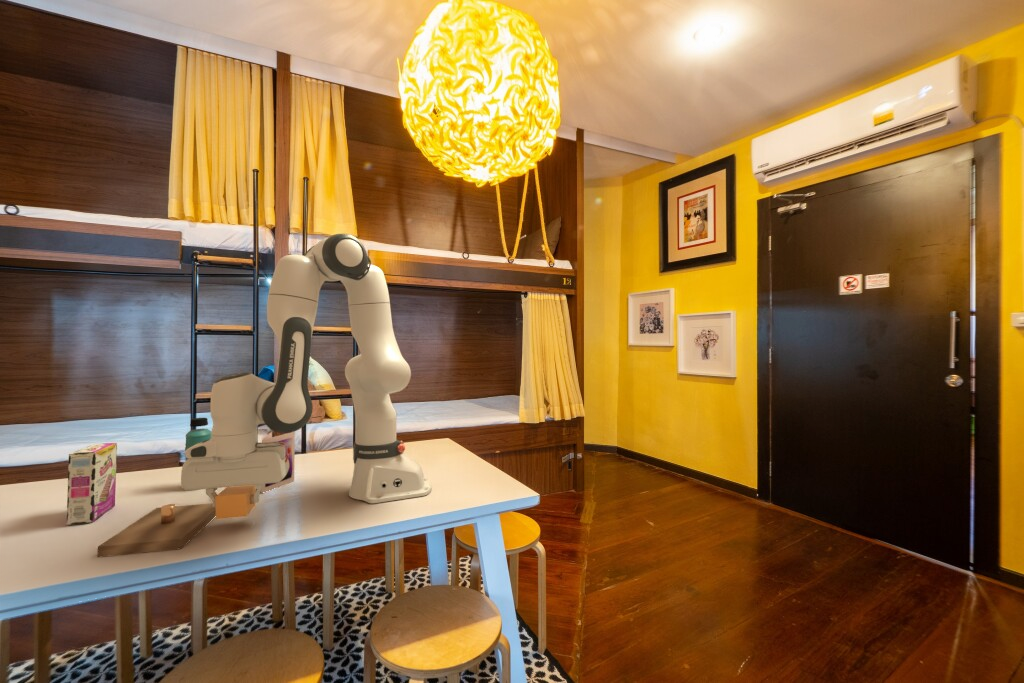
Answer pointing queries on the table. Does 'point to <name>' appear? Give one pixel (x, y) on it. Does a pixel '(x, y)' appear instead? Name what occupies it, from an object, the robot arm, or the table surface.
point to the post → (168, 514)
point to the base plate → (159, 531)
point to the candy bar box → (91, 483)
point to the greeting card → (289, 444)
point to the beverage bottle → (197, 433)
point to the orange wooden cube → (234, 502)
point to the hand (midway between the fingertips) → (236, 504)
